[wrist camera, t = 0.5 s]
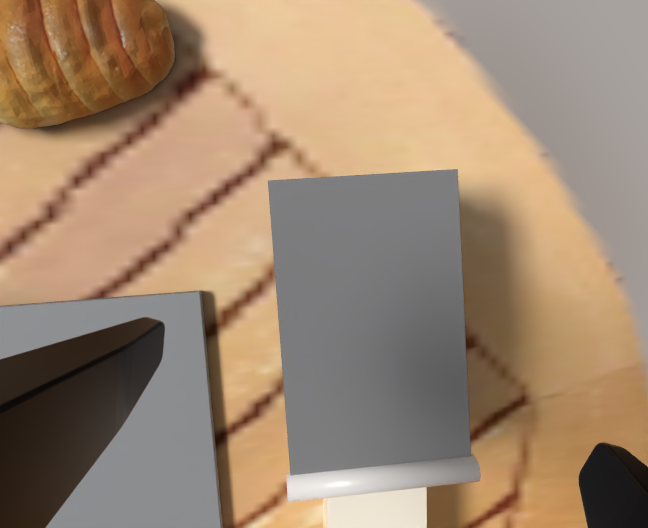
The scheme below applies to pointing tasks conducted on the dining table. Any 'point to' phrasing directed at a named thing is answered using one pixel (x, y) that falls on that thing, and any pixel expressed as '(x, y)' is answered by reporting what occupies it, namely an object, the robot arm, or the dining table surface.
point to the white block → (377, 510)
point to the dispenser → (372, 332)
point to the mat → (139, 416)
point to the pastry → (78, 57)
